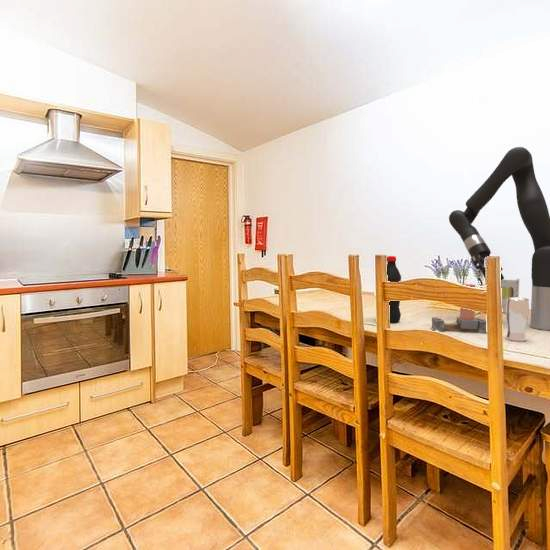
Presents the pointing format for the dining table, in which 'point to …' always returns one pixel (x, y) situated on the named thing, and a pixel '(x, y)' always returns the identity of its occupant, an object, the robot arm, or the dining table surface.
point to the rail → (456, 325)
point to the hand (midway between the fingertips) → (495, 278)
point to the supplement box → (509, 290)
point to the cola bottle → (393, 277)
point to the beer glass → (517, 318)
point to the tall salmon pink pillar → (467, 317)
